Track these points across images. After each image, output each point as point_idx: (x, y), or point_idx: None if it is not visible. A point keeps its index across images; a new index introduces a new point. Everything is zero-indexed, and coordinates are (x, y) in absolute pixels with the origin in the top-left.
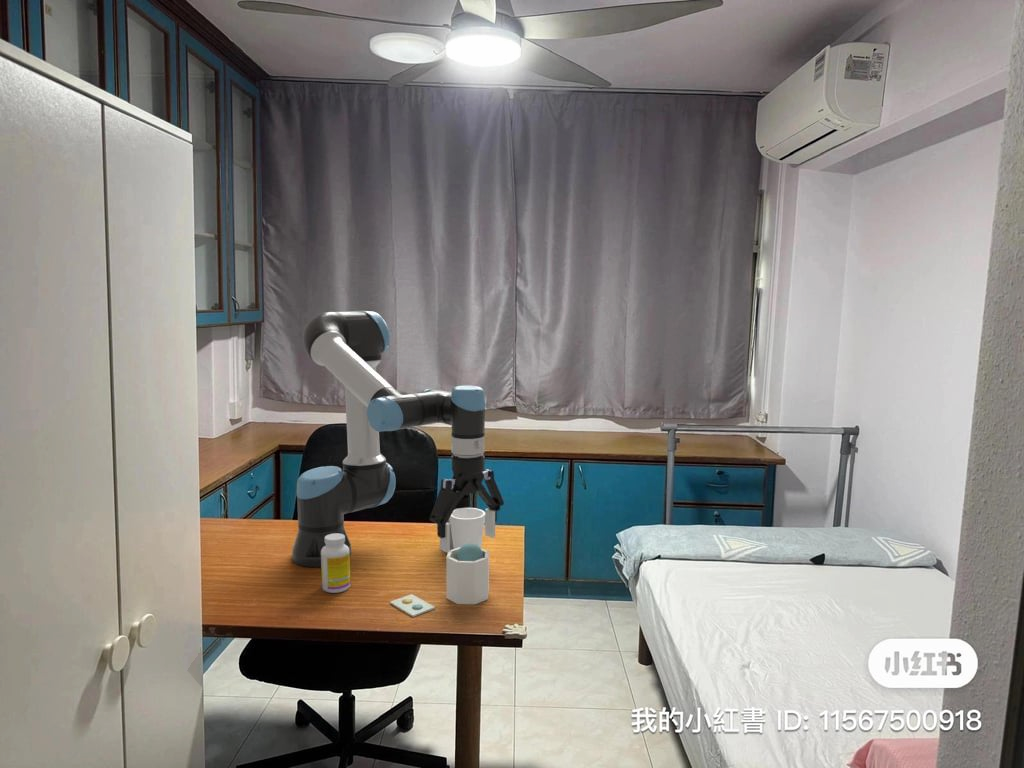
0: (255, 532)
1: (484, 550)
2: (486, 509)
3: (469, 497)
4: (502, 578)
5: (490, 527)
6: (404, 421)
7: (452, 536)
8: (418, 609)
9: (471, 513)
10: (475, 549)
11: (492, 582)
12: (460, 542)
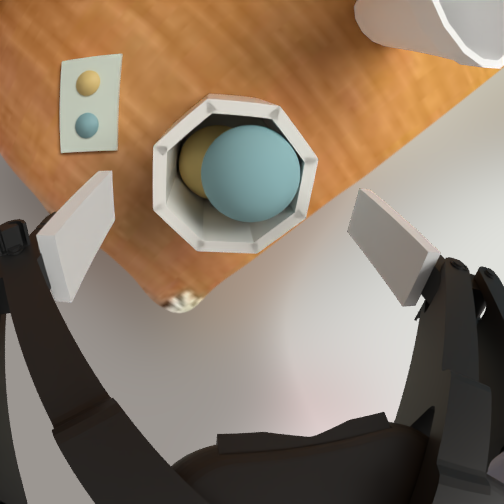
0: None
1: (304, 199)
2: (424, 260)
3: None
4: (355, 147)
5: (369, 240)
6: None
7: None
8: (82, 137)
9: (492, 4)
10: (250, 217)
11: (323, 142)
12: (382, 8)
